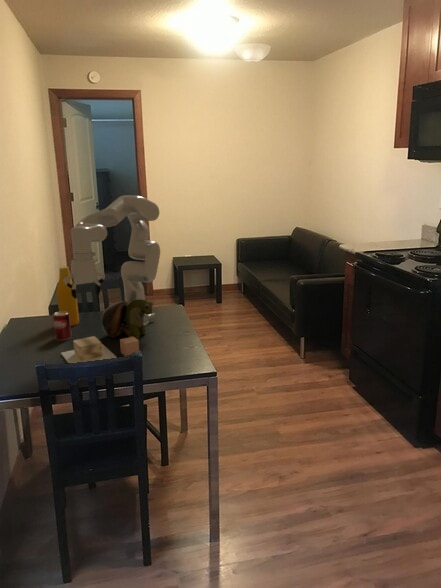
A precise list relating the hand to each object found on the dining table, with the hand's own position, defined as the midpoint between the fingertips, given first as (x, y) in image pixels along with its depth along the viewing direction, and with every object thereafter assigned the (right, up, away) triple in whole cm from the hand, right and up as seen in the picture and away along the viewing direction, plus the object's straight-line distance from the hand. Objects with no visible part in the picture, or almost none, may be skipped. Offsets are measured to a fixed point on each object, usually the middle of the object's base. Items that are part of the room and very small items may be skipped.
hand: (86, 296), depth 202 cm
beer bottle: (-19, -14, +38) cm, 45 cm away
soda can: (-16, -20, +19) cm, 32 cm away
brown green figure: (+14, -19, +20) cm, 31 cm away
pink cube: (+18, -24, +1) cm, 30 cm away
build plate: (+2, -25, -3) cm, 26 cm away
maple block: (+2, -25, -3) cm, 25 cm away
